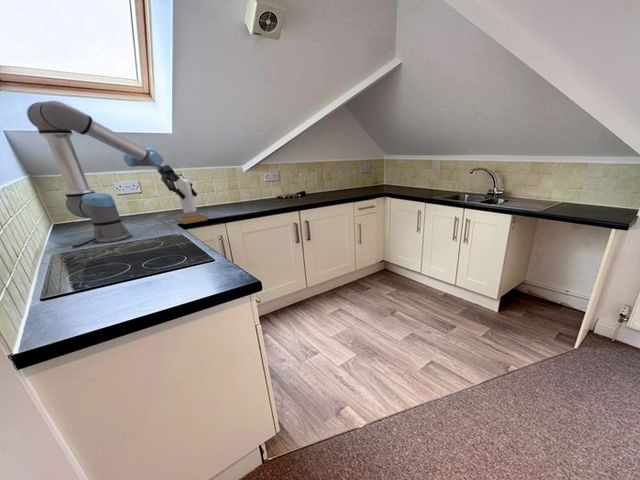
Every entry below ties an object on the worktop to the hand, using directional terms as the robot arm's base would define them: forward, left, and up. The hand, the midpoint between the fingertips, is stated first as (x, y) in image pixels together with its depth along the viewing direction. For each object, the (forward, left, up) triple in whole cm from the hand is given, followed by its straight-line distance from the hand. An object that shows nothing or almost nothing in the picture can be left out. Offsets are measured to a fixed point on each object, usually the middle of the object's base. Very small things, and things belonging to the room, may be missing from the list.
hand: (190, 196), depth 187 cm
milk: (-1, +3, -10) cm, 10 cm away
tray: (-1, +3, -15) cm, 16 cm away
